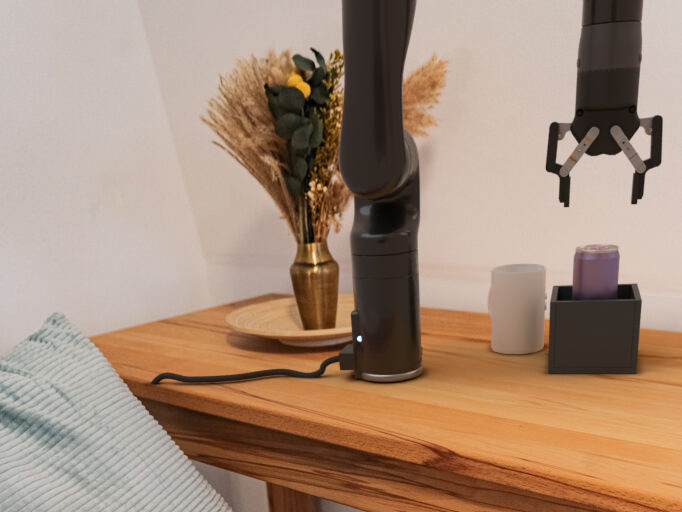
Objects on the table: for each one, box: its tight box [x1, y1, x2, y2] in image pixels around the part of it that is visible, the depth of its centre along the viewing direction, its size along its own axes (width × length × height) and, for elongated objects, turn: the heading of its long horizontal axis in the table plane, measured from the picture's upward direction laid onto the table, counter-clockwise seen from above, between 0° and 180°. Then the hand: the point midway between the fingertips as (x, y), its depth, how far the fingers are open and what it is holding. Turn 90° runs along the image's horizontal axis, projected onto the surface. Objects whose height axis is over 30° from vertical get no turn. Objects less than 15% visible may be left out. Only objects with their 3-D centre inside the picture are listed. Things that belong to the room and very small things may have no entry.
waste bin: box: [547, 283, 643, 375], centre depth 117 cm, size 12×12×10 cm
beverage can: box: [571, 243, 621, 301], centre depth 116 cm, size 6×6×15 cm
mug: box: [487, 263, 548, 355], centre depth 129 cm, size 8×12×12 cm
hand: (599, 205), depth 111 cm, fingers open, 8 cm apart
